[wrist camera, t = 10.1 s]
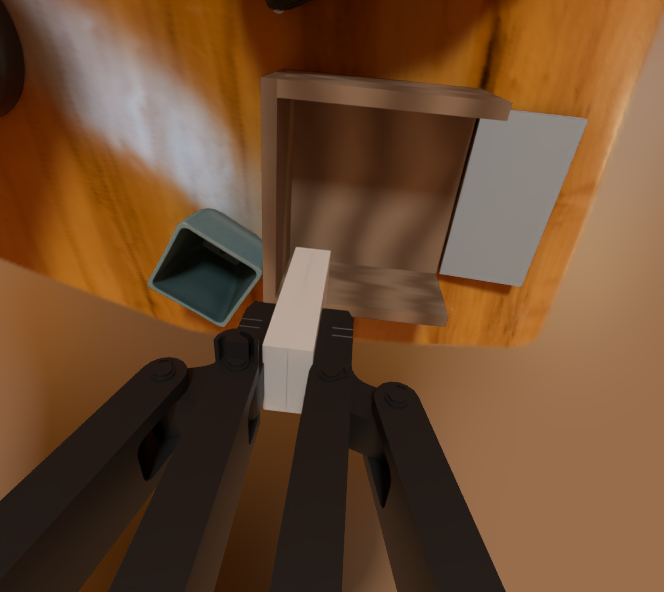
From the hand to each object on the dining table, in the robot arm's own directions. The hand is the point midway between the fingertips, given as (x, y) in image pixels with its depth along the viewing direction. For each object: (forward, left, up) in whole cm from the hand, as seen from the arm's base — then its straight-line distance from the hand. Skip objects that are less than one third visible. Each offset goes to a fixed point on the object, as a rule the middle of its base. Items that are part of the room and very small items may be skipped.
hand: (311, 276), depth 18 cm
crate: (+3, -4, -26) cm, 27 cm away
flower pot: (-12, -12, -27) cm, 32 cm away
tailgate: (+12, -4, -25) cm, 28 cm away
